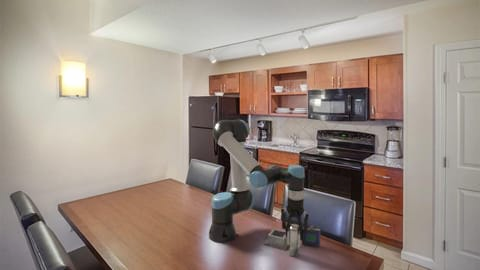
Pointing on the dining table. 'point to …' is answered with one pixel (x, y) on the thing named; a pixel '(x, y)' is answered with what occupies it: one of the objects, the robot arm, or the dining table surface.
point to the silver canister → (293, 240)
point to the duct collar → (277, 239)
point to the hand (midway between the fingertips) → (294, 244)
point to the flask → (311, 237)
